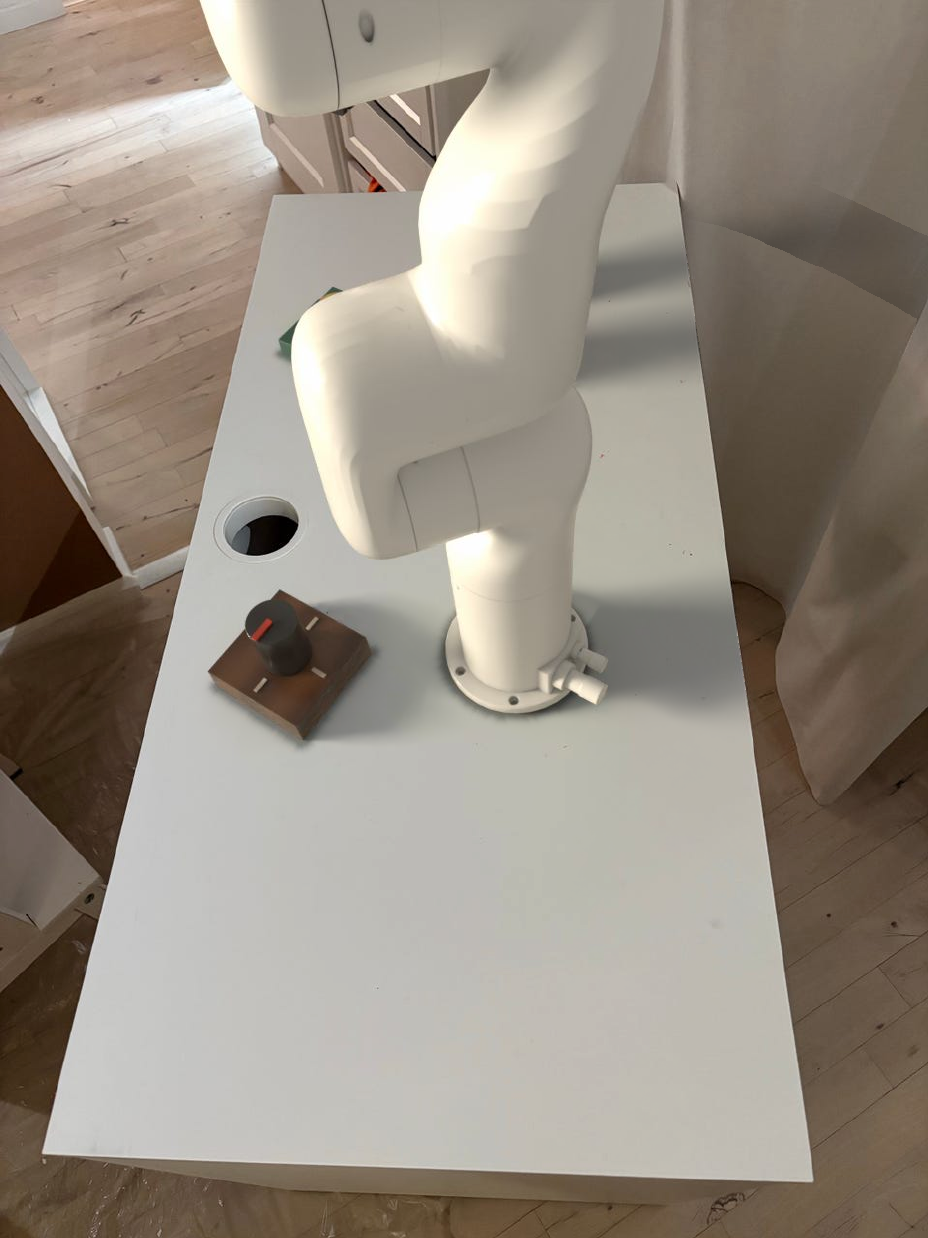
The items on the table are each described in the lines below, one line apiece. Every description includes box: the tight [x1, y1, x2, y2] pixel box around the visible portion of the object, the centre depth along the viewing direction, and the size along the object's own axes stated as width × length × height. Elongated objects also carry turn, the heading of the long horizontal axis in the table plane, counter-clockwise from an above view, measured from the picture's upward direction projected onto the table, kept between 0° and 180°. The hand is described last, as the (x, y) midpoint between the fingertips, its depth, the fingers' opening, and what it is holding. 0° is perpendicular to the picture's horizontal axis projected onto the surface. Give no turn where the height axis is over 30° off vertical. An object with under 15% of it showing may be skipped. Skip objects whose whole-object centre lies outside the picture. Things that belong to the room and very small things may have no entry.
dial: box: [244, 598, 312, 676], centre depth 80 cm, size 4×4×6 cm
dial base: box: [207, 589, 372, 741], centre depth 84 cm, size 10×10×3 cm
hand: (335, 107), depth 84 cm, fingers closed
